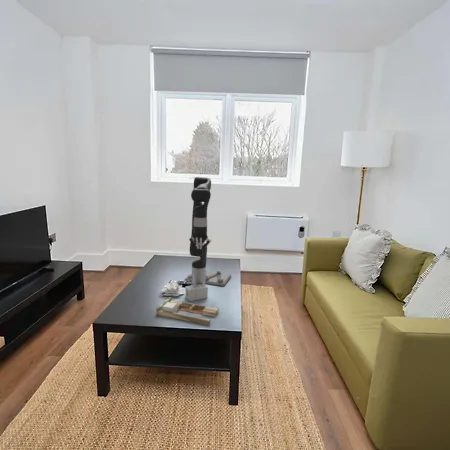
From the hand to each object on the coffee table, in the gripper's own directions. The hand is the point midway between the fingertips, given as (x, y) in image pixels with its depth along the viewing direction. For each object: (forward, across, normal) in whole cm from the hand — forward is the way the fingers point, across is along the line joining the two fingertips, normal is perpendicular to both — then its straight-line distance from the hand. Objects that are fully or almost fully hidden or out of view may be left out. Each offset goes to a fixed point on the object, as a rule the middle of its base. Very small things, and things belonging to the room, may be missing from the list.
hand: (199, 255), depth 179 cm
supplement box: (+29, +12, -10) cm, 33 cm away
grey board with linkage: (+34, +12, -48) cm, 60 cm away
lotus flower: (+33, +24, -14) cm, 43 cm away
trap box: (+33, +4, +10) cm, 35 cm away
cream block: (+33, +13, +10) cm, 37 cm away
